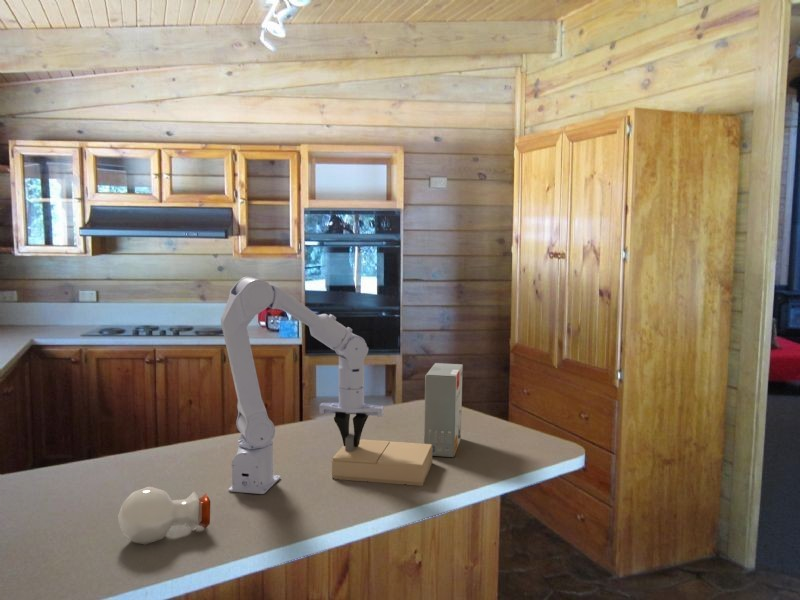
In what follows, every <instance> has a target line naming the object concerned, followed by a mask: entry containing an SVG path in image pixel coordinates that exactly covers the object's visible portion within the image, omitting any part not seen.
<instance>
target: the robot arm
mask: <svg viewBox="0 0 800 600" xmlns="http://www.w3.org/2000/svg"><path fill="white" fill-rule="evenodd" d="M268 308H270V309H272V310H282V311H284V312H286V313H287V314H288V315H290V316H291V317H293V318H294V319H296V320H298V321H299V322H301V323H302V324H304V325H306V326H308V328H309V332H310V333H309V334H310V336H311V337H313V338H314V339H316V340H317V341H318V342H320V343H322V344H324V345H325V346H326V347H328V348H330V349H331V350H332V351H335V353H336V355H338V402H321V403H320V404H319V407H318V410H319V414H325V413H328V414H335V415H334V417H333V420H334V423H335V424H336V426H337V428H338V430H339V433H340V435H341V439H342V442H343V445H344V446H345V438H346V437H347V436H348V435H349V433H350V419H351V418H350V417H351V415H354V417H352V423H353V433H354V447H358V445H359V443H360V439H361V437H362V433H363V430H364V427H365V424H366V422H367V420H368V418H369V416H376V417H378V418H382V417H383V416H384V413H385V411H384V405H374V404H368V403H365V358H366V357H367V355H368V353H369V347H368V345H367V342H366V340H365V339H364V338H363V337H362V336H360V335H357V334H355V333H353V329H352V328H351V327H349V326H347V327H346V326H344V325H343V324H342V323H340V322H339V321H337V316H335V315H334V314H331V313H329V314H327V313H321V314H316V313H315V312H314V311H313V310H312V309H310V308H309V307H308V306H306V305H304V304H303V303H302V302H301V301H299V300H298V299H296V297H294V296H292V295H291V294H290V293H288V292H287V291H285V290H283V289H282V288H279V287H277V286H275V285H272V284H270V282H268V281H265V280H264V279H260V278H259V279H258V278H256V277H254V276H244V277H242V278H240V279H239V280H238V281H237V282H236V283H235V284H234V285H233V286H232V287H231V288H230V291H229V295H228V298H227V302H226V305H225V307H224V310H223V313H222V316H221V318H220V324H221V330H222V333H223V338H224V342H225V346H226V351H227V352H226V353H227V357H228V361H229V366H230V370H231V375H232V379H233V384H234V389H235V393H236V398H237V404H236V408H237V418H236V422H235V423H236V428H237V430H238V432H240V433H241V435H240V436H239V438H238V440H237V444H238V445H237V446H238V447H237V448H238V449H237V452H236V454H235V455H234V457H233V459H232V460H231V461H232V462H231V479H232V481H231V483H232V485H231V486H230V487H229V488H228V492H234V493H245V494H246V493H247V494H257V495H258V494H259V495H265V494H266V492H268V490H270V489H271V488H272V487H273V486H274V485H275V484H276V483H277V482H278V481H279V480H280V479H281V475H277V474H276V475H275V474H274V437H275V434H276V427H275V424H274V422H273V421H272V420H271V419H270V418H269V416H268V413H267V408H266V406H265V404H264V401H263V398H262V394H261V393H262V392H261V389H260V385H259V380H258V375H257V370H256V366H255V361H254V356H253V352H252V346H251V341H250V336H249V333H248V332H249V331H248V326H249V324H250V323H251V322H252V321H253V319H254V318H255V317H256V315H259V314H260V313H261V312H264V310H266V309H268Z"/></svg>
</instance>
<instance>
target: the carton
mask: <svg viewBox="0 0 800 600" xmlns="http://www.w3.org/2000/svg"><path fill="white" fill-rule="evenodd" d="M432 464H433V456H432V444H424V443H421V442H420V443H419V442H417V443H416V442H404V441H391V440H390V443H389V445H388V446H387V448H386V449H385V451H384V452H383V454H382V455H381V457H380V458H379V460H378V461H377V464H373V463H360V462H346V461H333V459H332V461H331V478H334V479H333V480H342V479H343V480H345V481H354V482H355V481H357V482H367V481H368V482H370V483H380V484H381V483H382V484H394V485H404V484H407V485H406V486H418V487H423V486H424V483H425V481H426V479H427V476H428V474H429V471H430V469H431V467H432ZM368 482H367V483H368Z"/></svg>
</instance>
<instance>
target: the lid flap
mask: <svg viewBox="0 0 800 600" xmlns="http://www.w3.org/2000/svg"><path fill="white" fill-rule="evenodd" d="M390 442H391V440H378V439H364V438H363V439H361V438H360V443H359V445H358V447H354V432H349V435H348V436H347V437H346V438H345V446H344V444H343V445H342V446H341V448H339V450H338V451H337V452H336V454H334V455H333V457H332V460H333V461H346V462H360V463H373V464H377V461H378V460H379V458H380V457H381V455H382V454H383V452H384V451H385V449H386V448H387V446H388V445H389V443H390Z"/></svg>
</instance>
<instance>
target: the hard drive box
mask: <svg viewBox="0 0 800 600" xmlns="http://www.w3.org/2000/svg"><path fill="white" fill-rule="evenodd" d="M463 368H464V365H463V363H462V364H460V363H441V362H435V363H434V364H433V365H432V366H431V368H429V370H428V372H426V374H425V376H424V380H425V381H424V414H423V415H424V417H423V418H424V419H423V420H424V421H423V444H432V457H445V458H455V455H456V453H457V449H458V448H459V445H460V443H461V439H462V415H463V413H462V411H463V410H462V409H463V407H462V404H463V403H462V402H463V370H464V369H463Z"/></svg>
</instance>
